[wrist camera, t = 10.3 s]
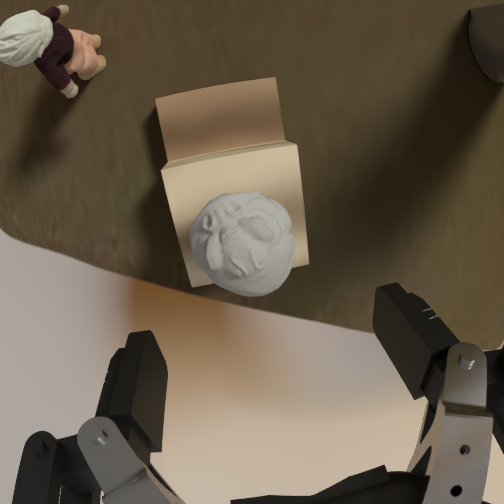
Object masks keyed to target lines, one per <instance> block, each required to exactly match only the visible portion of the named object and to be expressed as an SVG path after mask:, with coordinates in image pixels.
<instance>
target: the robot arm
mask: <svg viewBox="0 0 504 504" xmlns="http://www.w3.org/2000/svg"><path fill="white" fill-rule="evenodd" d="M470 11H471V16H472V17H471V20H470V23H469V29H468V30H469V40H470V45H471V48H472V52H473V54H474V57H475V59H476V61H477V63H478V65H479V67H480V68H481V69H482V71H483V72H484V73H485V74H486V76H487V77H488V78H490V79H491V80H492V81H495V82H497V83H504V4H497V5H490V6H484V7H478V8H473V9H470ZM373 328H374V332H375V335H376V336H377V338H378V340H379V341H380V343H381V345H382V346H383V348H384V349H385V351H386V353H387V354H388V356H389V358H390V359H391V361H392V362H393V364H394V366H395V368H396V369H397V371H398V373H399V374H400V376H401V378H402V380H403V381H404V383H405V384H406V386H407V388H408V390H409V392H410V393H411V395H412V397H413V399H414V400H416V399H418V398H421V397H423V396H425V397H426V398H427V400H428V402H427V404H426V408H425V413H424V417H423V422H422V426H421V430H420V434H419V438H418V442H417V445H416V449H415V452H414V454H413V456H412V458H411V460H410V463H409V465H408V468H407V471H406V472H404V471H391V472H387V470H386V467H385V465H382V466H379V467H377V468H374V469H371V470H368V471H365V472H362V473H359V474H356V475H353V476H349V477H347V478H346V479H344V480H342V481H340V482H339V483H336V484H335V485H333V486H331V487H329V488H327V489H325V490H323V491H321V492H319V493H317V494H315V495H311V496H279V495H267V496H260V497H253V498H245V499H236V500H231V504H490V503H488V502H485V501H482V497H483V493H484V488H485V483H486V477H487V471H488V465H489V458H490V449H491V440H492V433H493V435H494V436H495V438H496V440H497V442H498V444H499V446H500V448H501V450H502V452H503V454H504V345H503V347H502V349H499V350H492V351H485V352H483V351H482V349H480V348H479V347H478V346H476V345H474V344H472V343H468V342H460V341H459V340H458V339H457V338H456V337H455V335H454V334H453V333H452V332H451V331H450V329H449V328H448V327H447V326H446V325H445V324H444V322H443V321H442V320H441V319H440V318H439V317H437V314H436V313H435V312H434V311H433V310H431V307H430V306H429V305H428V304H427V303H426V302H425V301H424V300H423V299H422V298H420V297H419V296H417V295H415V294H413V293H408V294H407V292H406V291H405V290H404V289H403V288H402V287H401V286H400V285H399V284H398V283H392V284H388V285H384V286H380V287H377V289H376V292H375V302H374V312H373ZM167 380H168V370H167V365H166V361H165V359H164V357H163V355H162V353H161V351H160V348H159V346H158V344H157V341H156V339H155V337H154V335H153V333H152V332H151V331H150V330H147V331H139V332H132V333H130V334H129V335H128V339H127V342H126V346H125V348H119V349H118V350H117V352H116V353H115V354H114V356H113V357H112V358H111V360H110V364H109V368H108V373H107V374H106V378H105V382H104V385H103V388H102V392H101V396H100V400H99V403H98V407H97V411H96V415H95V417H94V418H91V419H90V420H88V421H86V422H85V423H84V424H83V425H82V426H81V428H80V429H79V432H78V434H76V435H73V436H69V437H65V438H61V439H56V438H55V437H54V436H53V435H51V434H50V433H49V432H46V431H39V432H36V433H34V434H32V435H31V436H30V437H29V438H28V440H27V441H26V443H25V446H24V449H23V453H22V457H21V461H20V466H19V470H18V474H17V479H16V484H15V490H14V495H13V500H12V504H100V494H101V491H103V492H104V496H102V501H103V503H104V504H185V502H184V501H183V500H182V499H181V498H180V497H179V496H178V495H177V494H176V493H175V492H174V490H173V489H172V488H171V487H170V486H169V485H168V483H167V482H166V481H165V480H164V479H163V478H162V476H161V475H160V474H159V473H158V471H157V470H156V469H155V468H154V466H153V465H152V464H151V463H150V453H151V452H162V437H163V424H164V411H165V400H166V388H167ZM60 488H61V494H60ZM59 496H60V503H59Z"/></svg>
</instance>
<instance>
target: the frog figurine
mask: <svg viewBox="0 0 504 504" xmlns="http://www.w3.org/2000/svg"><path fill="white" fill-rule="evenodd" d="M291 227H292V222H291V219H290V216H289V214H288V212H287V211H286V209H285V208H284V207H283V206H282V205H281V204H280V203H279V202H277V201H276V200H274V199H272V198H267V197H266V196H265V195H263V194H261V192H246V193H231V194H228V193H227V194H222V195H219V196H217V197H216V198H215V199H211V200H210V201H209V202H208V203H207V204H206V206H205V207H204V208H203V209H202V211H201V212H200V213H199V214H198V216H197V217H196V219H195V220H194V222H193V223H192V225H191V227H190V228H189V234H190V236H189V237H190V240H191V249H192V253H193V258H194V260H195V262H196V263H197V265H198V267H199V268H200V269H201V270H202V271H204V272H206V273H207V275H208V276H209V277H210V279H211V280H212V281H213V282H214V283H215V284H216V285H218V286H219V287H221V288H225V289H226V290H229V291H231V292H233V293H236V294H239V295H243V296H263V295H266V294H268V293H270V292H273V291H274V290H276V289H278V288H279V287H280V286H281V285H282V284H283V282H284V281H285V280H286V278H287V277H288V275H289V273H290V270H291V266H292V262H293V259H294V254H295V238H294V236H293V234H292V233H290V232H289V231H290V230H291Z"/></svg>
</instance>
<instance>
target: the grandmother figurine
mask: <svg viewBox="0 0 504 504" xmlns="http://www.w3.org/2000/svg"><path fill="white" fill-rule="evenodd" d="M68 11H69V8H68V6H67V5H60V6H57V7H51V8H49V9H48V10H47V11H45V12H44V13H43V14H42V15H40V14H39V12H37V11H35V10H30V11H27V12H24V13H21V14H17V15H15V16H13V17H11V18H9V19H8V20H6V21H5V22H4V23H3V24H2V26H1V27H0V61H2V62H3V63H5V64H9V65H11V66H14V67H18V66H22V65H25V64H28V63H31V62H33V61H34V63H35V65H36V67H37V68H38V69H39V70H40V72H41V73H42V74H43V75H44V76H45V77H46V78H47V80H48V81H49V82H50V83H51V84H52V85H53V86H54V88H55V89H57V90H58V91H61V92H62V93H64V94H65V96H66V97H67V98H73V97H75V96H76V95H77V93H78V86H77V85H76V84H74V83H73V81H72V80H71V78H70V76H69V74H72V73H73V72H77V74H78V76H79V78H81V79H82V80H89V79H90V78H92V77H94V76H95V75H96V74H98V73H100V72H101V71H102V70H103V69H104V68H105V66H106V60H105V57H104V56H102V55H97V54H96V52H95V50H97V49H98V48H99V47H100V44H101V38H100V36H99V35H90V34H87V33H85V32H83V31H80V30H72V29H68V28H65V27H64V26H63V25H61V24H59V23H55V22H56V21H57V20H58V18H60V17H63V16H65V15H66V14H67V13H68Z"/></svg>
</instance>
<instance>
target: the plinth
mask: <svg viewBox="0 0 504 504" xmlns="http://www.w3.org/2000/svg"><path fill="white" fill-rule="evenodd" d="M155 101H156V106H157V111H158V116H159V121H160V126H161V131H162V136H163V141H164V146H165V150H166V155H167V159H168V163H167V164H166V165H165V166H164V167H163V168H162V170H161V173H162V177H163V181H164V186H165V190H166V194H167V198H168V202H169V206H170V210H171V214H172V218H173V221H174V225H175V229H176V233H177V237H178V240H179V244H180V247H181V251H182V255H183V258H184V262H185V265H186V269H187V272H188V276H189V279H190V282H191V286H192V287H198V286H203V285H208V284H213V283H214V282H213V281H212V280H211V279H210V277H209V276H208V275H207V273H206V272H204V271H202V270H201V269H200V268H199V267H198V265H197V263H196V262H195V260H194V258H193V253H192V249H191V240H190V237H189V236H190V234H189V228H190V227H191V225H192V223H193V222H194V220H195V219H196V217H197V216H198V214H199V213H200V212H201V211H202V209H203V208H204V207H205V206H206V204H207V203H208V202H209V201H210V200H211V199H215V198H216V197H217V196H219V195H222V194H227V193H228V194H231V193H246V192H261V194H263V195H265V196H266V197H267V198H272V199H274V200H276V201H277V202H279V203H280V204H281V205H282V206H283V207H284V208H285V209H286V211H287V212H288V214H289V216H290V219H291V222H292V227H291V230H290V231H289V232H290V233H292V234H293V236H294V238H295V254H294V259H293V262H292V266H291V268H293V267H298V266H303V265H308V264H309V257H308V245H307V233H306V222H305V212H304V202H303V193H302V183H301V175H300V166H299V158H298V150H297V145H296V144H294V143H291V142H289V141H286V140H285V137H284V130H283V123H282V116H281V110H280V103H279V97H278V90H277V84H276V78H265V79H257V80H250V81H242V82H236V83H229V84H223V85H218V86H212V87H207V88H202V89H197V90H192V91H187V92H183V93H178V94H174V95H170V96H166V97H162V98H158V99H155Z"/></svg>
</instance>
